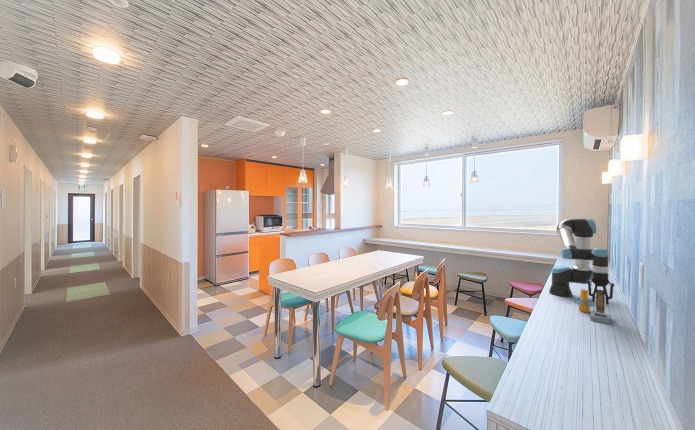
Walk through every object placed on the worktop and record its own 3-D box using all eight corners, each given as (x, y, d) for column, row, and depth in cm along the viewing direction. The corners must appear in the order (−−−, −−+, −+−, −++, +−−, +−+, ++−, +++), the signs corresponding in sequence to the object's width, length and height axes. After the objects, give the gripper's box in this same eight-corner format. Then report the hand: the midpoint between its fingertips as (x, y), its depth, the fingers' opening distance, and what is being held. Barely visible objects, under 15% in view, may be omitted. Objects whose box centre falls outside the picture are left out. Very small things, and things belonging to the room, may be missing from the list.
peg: (596, 310, 181) (596, 289, 181) (604, 311, 178) (604, 290, 178) (596, 311, 178) (596, 290, 178) (604, 313, 175) (604, 291, 175)
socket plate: (592, 314, 186) (592, 310, 186) (610, 318, 180) (610, 314, 180) (590, 320, 178) (590, 315, 178) (609, 324, 172) (609, 319, 172)
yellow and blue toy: (599, 314, 188) (599, 292, 187) (584, 314, 188) (584, 292, 188) (584, 307, 200) (584, 287, 200) (570, 307, 200) (569, 287, 200)
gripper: (582, 271, 181) (582, 306, 182) (618, 275, 169) (618, 312, 169) (583, 269, 186) (583, 303, 187) (618, 273, 174) (618, 309, 175)
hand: (600, 307), depth 178 cm, fingers closed on peg, 4 cm apart
